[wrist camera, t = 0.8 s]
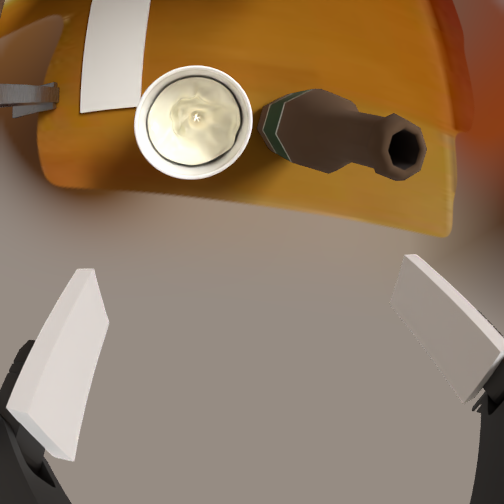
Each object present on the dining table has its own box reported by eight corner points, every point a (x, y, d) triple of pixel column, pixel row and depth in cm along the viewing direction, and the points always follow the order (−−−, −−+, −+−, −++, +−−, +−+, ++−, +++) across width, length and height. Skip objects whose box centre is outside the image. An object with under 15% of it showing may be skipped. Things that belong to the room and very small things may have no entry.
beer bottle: (259, 158, 36) (343, 230, 14) (251, 98, 32) (333, 72, 11) (317, 151, 36) (449, 211, 15) (312, 93, 33) (452, 85, 11)
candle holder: (248, 96, 32) (269, 87, 21) (221, 169, 35) (229, 193, 25) (172, 73, 29) (156, 53, 18) (146, 148, 33) (120, 163, 22)
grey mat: (107, -50, 18) (106, -52, 17) (163, -59, 19) (162, -61, 18) (81, 112, 29) (80, 113, 28) (140, 106, 30) (139, 106, 30)
